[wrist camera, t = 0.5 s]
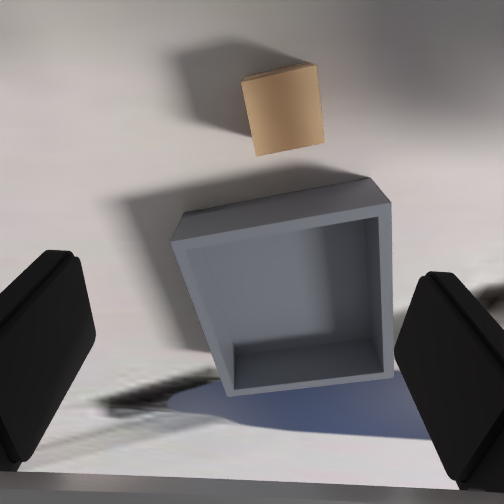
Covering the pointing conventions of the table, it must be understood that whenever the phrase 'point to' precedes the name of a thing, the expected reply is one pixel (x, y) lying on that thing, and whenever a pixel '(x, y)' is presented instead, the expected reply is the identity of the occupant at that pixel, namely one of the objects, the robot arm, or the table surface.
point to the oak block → (284, 108)
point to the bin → (293, 287)
